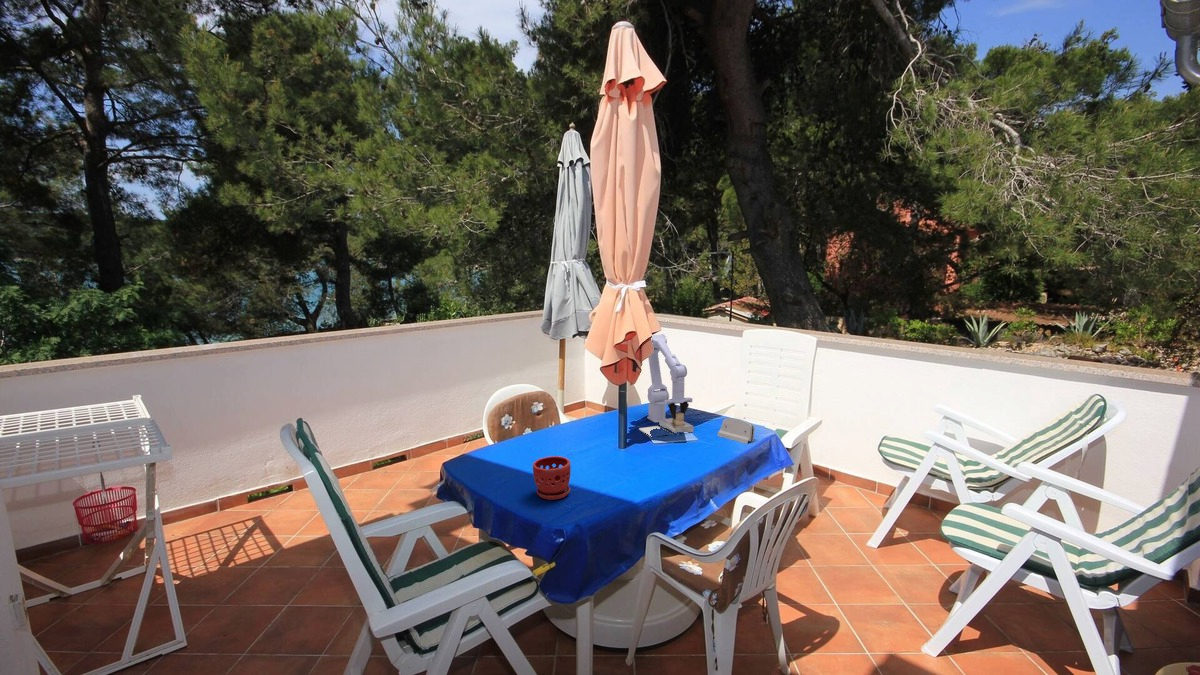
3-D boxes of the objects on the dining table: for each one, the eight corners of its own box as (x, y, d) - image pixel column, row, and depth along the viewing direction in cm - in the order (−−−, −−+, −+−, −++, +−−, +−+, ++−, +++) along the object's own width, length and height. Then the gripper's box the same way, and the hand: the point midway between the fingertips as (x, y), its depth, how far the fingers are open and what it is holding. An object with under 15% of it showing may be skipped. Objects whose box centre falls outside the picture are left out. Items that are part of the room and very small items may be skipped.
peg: (672, 426, 267) (672, 412, 266) (679, 425, 269) (679, 411, 268) (676, 428, 263) (676, 414, 262) (683, 427, 265) (683, 413, 264)
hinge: (716, 435, 257) (721, 414, 258) (722, 436, 260) (726, 416, 261) (747, 444, 245) (752, 422, 246) (753, 445, 248) (757, 423, 249)
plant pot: (555, 484, 203) (554, 452, 201) (578, 494, 193) (578, 461, 191) (526, 494, 194) (525, 461, 192) (549, 506, 184) (548, 471, 183)
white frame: (659, 425, 274) (659, 419, 273) (677, 423, 277) (677, 417, 277) (674, 434, 259) (674, 428, 258) (693, 432, 262) (693, 426, 262)
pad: (638, 429, 268) (638, 428, 267) (657, 427, 271) (657, 425, 271) (651, 437, 255) (651, 436, 255) (670, 435, 258) (670, 434, 258)
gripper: (668, 393, 257) (668, 421, 259) (695, 390, 262) (695, 418, 264) (661, 390, 264) (661, 417, 266) (688, 387, 269) (688, 414, 271)
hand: (678, 418), depth 265 cm, fingers closed on peg, 4 cm apart
